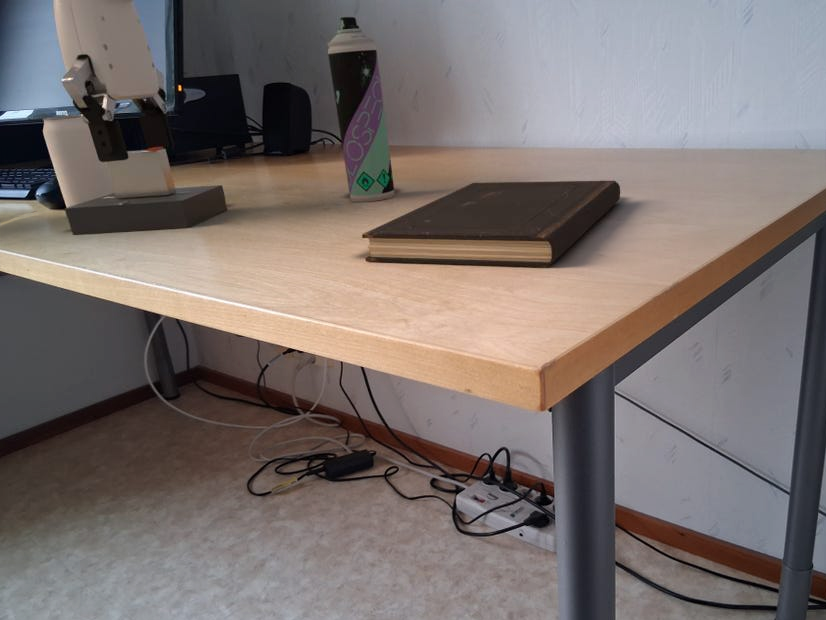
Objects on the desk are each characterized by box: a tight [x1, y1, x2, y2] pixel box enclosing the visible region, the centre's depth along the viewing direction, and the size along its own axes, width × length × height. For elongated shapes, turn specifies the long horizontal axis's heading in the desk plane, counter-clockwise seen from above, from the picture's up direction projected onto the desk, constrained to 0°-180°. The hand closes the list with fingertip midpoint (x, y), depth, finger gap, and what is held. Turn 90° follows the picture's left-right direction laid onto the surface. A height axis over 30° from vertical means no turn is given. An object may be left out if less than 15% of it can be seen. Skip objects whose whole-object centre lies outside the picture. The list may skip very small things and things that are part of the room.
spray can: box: [327, 16, 396, 203], centre depth 82 cm, size 6×6×20 cm
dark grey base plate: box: [64, 184, 228, 236], centre depth 82 cm, size 14×11×3 cm
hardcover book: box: [361, 180, 621, 268], centre depth 63 cm, size 16×23×2 cm
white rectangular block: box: [107, 147, 176, 199], centre depth 80 cm, size 6×2×5 cm, turn 84°
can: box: [42, 114, 115, 208], centre depth 95 cm, size 6×6×12 cm
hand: (139, 154), depth 79 cm, fingers open, 9 cm apart
